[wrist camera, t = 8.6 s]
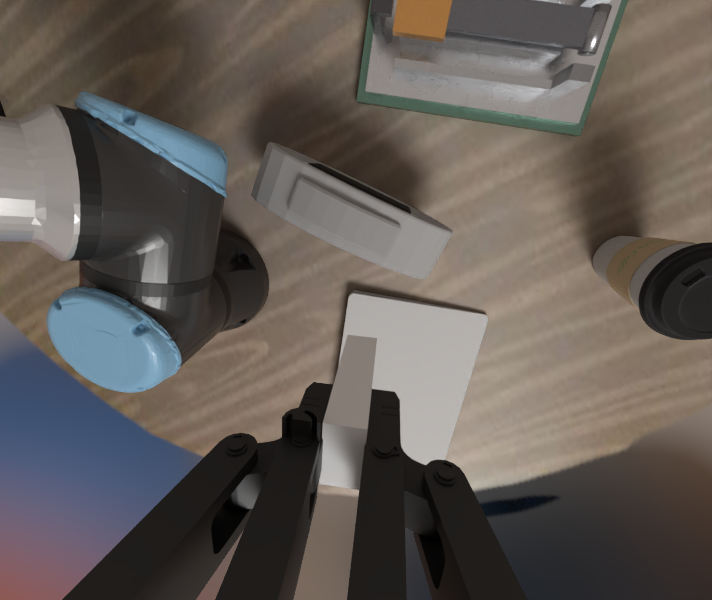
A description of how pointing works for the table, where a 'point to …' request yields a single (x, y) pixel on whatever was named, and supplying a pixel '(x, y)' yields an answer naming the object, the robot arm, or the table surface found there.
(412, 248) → the alarm clock
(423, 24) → the orange tipped grey lever
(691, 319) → the coffee cup
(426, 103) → the heatsink
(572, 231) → the table surface
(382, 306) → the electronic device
